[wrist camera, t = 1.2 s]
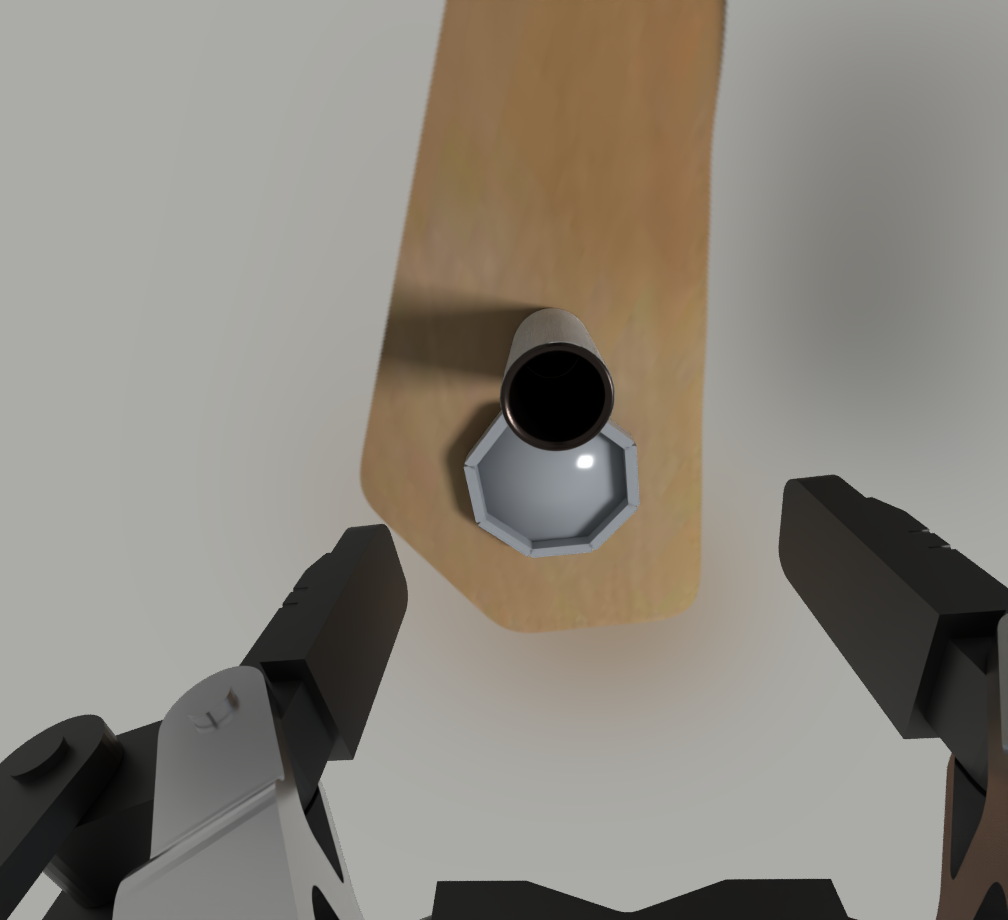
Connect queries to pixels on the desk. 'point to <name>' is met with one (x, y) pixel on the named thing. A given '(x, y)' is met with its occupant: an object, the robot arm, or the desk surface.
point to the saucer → (552, 490)
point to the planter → (555, 383)
